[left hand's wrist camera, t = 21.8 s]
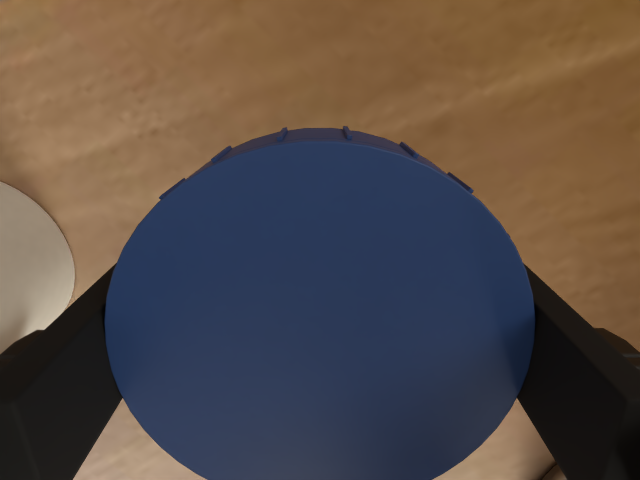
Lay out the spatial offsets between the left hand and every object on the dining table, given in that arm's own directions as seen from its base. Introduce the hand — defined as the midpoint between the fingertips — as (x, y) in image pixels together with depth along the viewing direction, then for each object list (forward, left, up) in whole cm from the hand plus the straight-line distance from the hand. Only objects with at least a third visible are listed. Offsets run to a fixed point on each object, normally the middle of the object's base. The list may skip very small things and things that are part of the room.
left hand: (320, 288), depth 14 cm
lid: (0, 0, +3) cm, 3 cm away
